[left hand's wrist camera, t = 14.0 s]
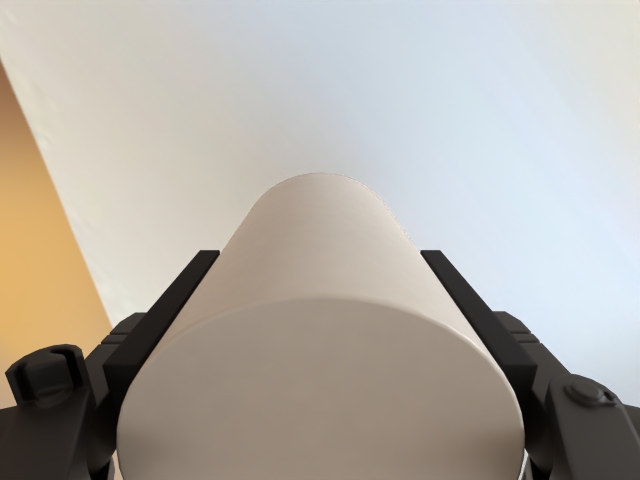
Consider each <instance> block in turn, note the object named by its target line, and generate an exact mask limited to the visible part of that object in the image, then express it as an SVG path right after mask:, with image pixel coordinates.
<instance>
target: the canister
mask: <svg viewBox="0 0 640 480" xmlns="http://www.w3.org/2000/svg"><path fill="white" fill-rule="evenodd" d="M524 447H525V433H524V426H523V420H522V413H521V410H520V407H519V404H518V401H517V398H516V395H515V392H514V390H513V389H512V387H511V385H510V383H509V382H508V380H507V378H506V376H505V375H504V373H503V371H502V370H501V368H500V367H499V366H498V364H497V363H496V361H495V360H494V358H493V357H492V356H491V354H490V353H489V351H488V350H487V348H486V347H485V346H484V344H483V343H482V341H481V340H480V338H479V337H478V336H477V334H476V333H475V331H474V330H473V328H472V327H471V326H470V324H469V323H468V321H467V320H466V318H465V317H464V316H463V314H462V313H461V311H460V310H459V308H458V307H457V306H456V304H455V303H454V301H453V300H452V298H451V297H450V296H449V294H448V293H447V291H446V290H445V288H444V287H443V285H442V284H441V283H440V281H439V280H438V278H437V277H436V275H435V274H434V273H433V271H432V270H431V268H430V267H429V265H428V264H427V263H426V261H425V260H424V258H423V257H422V255H421V254H420V253H419V251H418V250H417V248H416V247H415V245H414V244H413V243H412V241H411V240H410V238H409V237H408V235H407V234H406V233H405V231H404V230H403V228H402V227H401V225H400V224H399V223H398V221H397V220H396V218H395V217H394V215H393V214H392V213H391V211H390V210H389V208H388V207H387V206H386V204H385V203H384V202H383V201H382V199H381V198H380V197H379V196H378V195H377V194H375V193H374V192H373V191H372V190H371V189H369V188H368V187H366V186H365V185H363V184H361V183H359V182H357V181H356V180H353V179H350V178H348V177H345V176H341V175H336V174H330V173H310V174H304V175H299V176H296V177H293V178H290V179H287V180H285V181H283V182H281V183H279V184H277V185H276V186H274V187H273V188H271V189H270V190H269V191H267V192H266V193H265V194H264V195H263V196H262V197H261V198H260V199H259V200H258V201H257V202H256V204H255V205H254V206H253V208H252V209H251V210H250V212H249V213H248V215H247V216H246V218H245V219H244V221H243V222H242V223H241V225H240V226H239V228H238V229H237V231H236V232H235V234H234V235H233V236H232V238H231V239H230V241H229V242H228V244H227V245H226V247H225V248H224V249H223V251H222V252H221V254H220V255H219V257H218V258H217V260H216V261H215V262H214V264H213V265H212V267H211V268H210V270H209V271H208V272H207V274H206V275H205V277H204V278H203V280H202V281H201V283H200V284H199V285H198V287H197V288H196V290H195V291H194V293H193V294H192V296H191V297H190V298H189V300H188V301H187V303H186V304H185V306H184V307H183V309H182V310H181V311H180V313H179V314H178V316H177V317H176V319H175V320H174V321H173V323H172V324H171V326H170V327H169V329H168V330H167V332H166V333H165V334H164V336H163V337H162V339H161V340H160V342H159V343H158V345H157V346H156V347H155V349H154V350H153V352H152V353H151V355H150V356H149V358H148V359H147V360H146V362H145V363H144V365H143V366H142V368H141V369H140V371H139V372H138V374H137V376H136V377H135V379H134V380H133V382H132V383H131V385H130V387H129V389H128V392H127V394H126V396H125V399H124V401H123V404H122V406H121V411H120V416H119V420H118V425H117V444H116V450H117V456H118V462H119V469H120V471H121V474H122V477H123V480H518V478H519V476H520V472H521V468H522V463H523V458H524Z"/></svg>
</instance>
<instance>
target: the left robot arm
mask: <svg viewBox="0 0 640 480" xmlns="http://www.w3.org/2000/svg"><path fill="white" fill-rule="evenodd" d="M420 254H421V255H422V257H423V258H424V260H425V261H426V263H427V264H428V265H429V267H430V268H431V270H432V271H433V273H434V274H435V275H436V277H437V278H438V280H439V281H440V283H441V284H442V285H443V287H444V288H445V290H446V291H447V293H448V294H449V296H450V297H451V298H452V300H453V301H454V303H455V304H456V306H457V307H458V308H459V310H460V311H461V313H462V314H463V316H464V317H465V318H466V320H467V321H468V323H469V324H470V326H471V327H472V328H473V330H474V331H475V333H476V334H477V336H478V337H479V338H480V340H481V341H482V343H483V344H484V346H485V347H486V348H487V350H488V351H489V353H490V354H491V356H492V357H493V358H494V360H495V361H496V363H497V364H498V366H499V367H500V368H501V370H502V371H503V373H504V375H505V376H506V378H507V380H508V382H509V383H510V385H511V387H512V389H513V390H514V392H515V395H516V398H517V401H518V404H519V407H520V410H521V413H522V420H523V426H524V433H525V447H524V448H525V449H526V451H527V452H528V458H527V461H526V465H525V468H524V472H523V475H522V478H521V480H640V408H638V407H634V406H629V405H625V404H622V402H621V401H620V400H619V398H618V397H617V396H616V395H615V394H614V393H613V392H611V391H610V390H609V389H608V388H606V387H605V386H603V385H601V384H599V383H598V382H596V381H594V380H592V379H589V378H586V377H583V376H580V375H576V374H571V373H570V372H569V371H568V370H567V369H566V368H565V367H564V366H563V365H562V364H561V363H560V362H559V361H558V360H557V359H556V358H555V357H554V355H553V354H552V353H551V352H550V351H549V350H548V349H547V348H546V347H545V346H544V345H543V344H542V343H540V341H539V340H538V339H537V338H536V337H535V336H534V334H531V331H530V330H529V329H528V328H527V327H526V326H525V325H524V324H523V323H522V322H521V321H520V320H518V319H517V318H515V317H513V316H512V315H510V314H508V313H507V312H505V311H492V310H491V309H490V308H489V307H488V306H487V305H486V303H485V302H484V301H483V300H482V299H481V298H480V296H479V295H478V294H477V293H476V292H475V291H474V289H473V288H472V287H471V286H470V285H469V284H468V282H467V281H466V280H465V279H464V278H463V276H462V275H461V274H460V273H459V272H458V271H457V269H456V268H455V267H454V266H453V265H452V264H451V262H450V261H449V260H448V259H447V258H446V257H445V255H444V254H443V253H442V252H441V251H440V250H421V252H420ZM219 255H220V250H200V251H199V252H198V253H197V255H196V256H195V257H194V258H193V259H192V260H191V262H190V263H189V264H188V265H187V266H186V267H185V269H184V270H183V271H182V272H181V273H180V274H179V276H178V277H177V278H176V279H175V280H174V281H173V283H172V284H171V285H170V286H169V287H168V288H167V290H166V291H165V292H164V293H163V294H162V295H161V297H160V298H159V299H158V300H157V301H156V303H155V304H154V305H153V306H152V307H151V308H150V310H149V311H148V312H147V313H134V314H132V315H131V316H129V317H127V318H126V319H124V320H122V321H121V322H120V323H119V324H118V325H117V326H116V327H115V328H114V329H113V330H112V331H111V332H110V335H107V336H106V337H105V338H104V339H103V341H102V342H101V344H99V345H98V346H97V347H96V348H95V349H94V350H93V351H92V352H91V353H90V354H89V355H88V356H87V357H86V359H85V360H84V357H83V353H82V350H81V349H80V348H79V347H77V346H76V345H70V344H62V345H53V346H50V347H46V348H43V349H39V350H37V351H35V352H33V353H30V354H28V355H26V356H24V357H22V358H21V359H20V360H18V361H17V362H15V363H14V364H12V365H11V366H10V368H9V369H8V370H7V371H6V372H5V375H6V377H7V380H8V382H9V385H10V387H11V390H12V393H13V395H14V398H15V400H16V403H17V406H14V407H9V408H4V409H0V480H114V473H115V467H114V461H113V458H112V455H113V453H114V451H115V450H116V444H117V425H118V420H119V416H120V411H121V406H122V404H123V401H124V399H125V396H126V394H127V392H128V389H129V387H130V385H131V383H132V382H133V380H134V379H135V377H136V376H137V374H138V372H139V371H140V369H141V368H142V366H143V365H144V363H145V362H146V360H147V359H148V358H149V356H150V355H151V353H152V352H153V350H154V349H155V347H156V346H157V345H158V343H159V342H160V340H161V339H162V337H163V336H164V334H165V333H166V332H167V330H168V329H169V327H170V326H171V324H172V323H173V321H174V320H175V319H176V317H177V316H178V314H179V313H180V311H181V310H182V309H183V307H184V306H185V304H186V303H187V301H188V300H189V298H190V297H191V296H192V294H193V293H194V291H195V290H196V288H197V287H198V285H199V284H200V283H201V281H202V280H203V278H204V277H205V275H206V274H207V272H208V271H209V270H210V268H211V267H212V265H213V264H214V262H215V261H216V260H217V258H218V257H219Z"/></svg>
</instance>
